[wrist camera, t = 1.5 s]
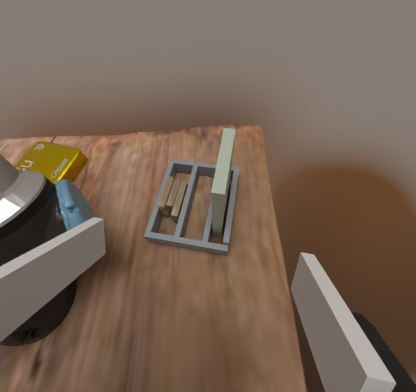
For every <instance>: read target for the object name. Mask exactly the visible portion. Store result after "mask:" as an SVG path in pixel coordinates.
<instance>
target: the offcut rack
mask: <svg viewBox="0 0 416 392" xmlns="http://www.w3.org/2000/svg"><path fill="white" fill-rule="evenodd" d="M215 170H216V164H208V163H200V162H192V161H184V160H176V159H170V162H169V165H168V168H167V171H166V173H165V176H164V179H163V182H162V185H161V188H160V191H159V194H158V196H157V199H156V202H155V205H154V208H153V211H152V214H151V217H150V219H149V222H148V225H147V228H146V231H145V234H144V237H145V238H146V239H147V240H148V241H149V242H155V243H160V244H166V245H171V246H177V247H182V248H188V249H193V250H199V251H204V252H210V253H215V254H221V255H226V256H227V252H228V245H229V239H230V232H231V224H232V217H233V210H234V202H235V195H236V188H237V181H238V173H239V166H234V167H231V175H230V179H232V185H231V192H230V198H229V205H228V212H227V218H226V225H225V231H224V238H223V245H222V244H217V243H211V242H209V241H210V236H211V230H212V205H211V200H210V205H209V210H208V214H207V219H206V224H205V229H204V234H203V239H202V241H200V240H194V239H188V238H183V237H184V233H185V229H186V225H187V221H188V217H189V213H190V209H191V205H192V201H193V197H194V193H195V189H196V185H197V181H198V177H199V175H203V176H210V177H214V175H215ZM176 172H181V173H188V174H191V176H190V179H189V183H188V187H187V190H186V194H185V198H184V201H183V205H182V209H181V212H180V216H179V219H178V223H177V227H176V230H175V234H174V236H171V235H165V234H160V233H157V232H158V229H159V225H160V222H161V219H162V216H163V214H162V213H161V211H160V209H159V208H158V203H159V200H160V197H161V194H162V191H163V188H164V185H165V182H166V179H167V177H168V176H171V177H174V178H175V175H176Z"/></svg>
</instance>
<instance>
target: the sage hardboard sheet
mask: <svg viewBox="0 0 416 392" xmlns="http://www.w3.org/2000/svg"><path fill="white" fill-rule="evenodd" d="M235 131H236V129H228V128H224V131H223V136H222V141H221V146H220V151H219V156H218V161H217V165H216V170H215V175H214V180H213V185H212V190H211V205H212V227H213V235H217V236H221V235H222V229H223V223H224V216H225V210H226V204H227V197H228V191H229V183H230V175H231V166H232V157H233V148H234V140H235Z"/></svg>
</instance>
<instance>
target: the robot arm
mask: <svg viewBox="0 0 416 392" xmlns="http://www.w3.org/2000/svg"><path fill="white" fill-rule="evenodd" d="M104 254H106V250H105V232H104V219H101V218H96V216H95V214H94V213H93V211H92V209H91V207H90V206H89V204H88V202H87V201H86V199H85V198H84V196H83V195H82V194H81V192H80V191H79V190H78V188H77V187H76V186H75V185H74V184H73V183H71V182H70V181H69V180H67V179H63V180H57V181H56V183H55V184H54V183H52V182H51V181H50V180H49V179H47V178H46V177H45V176H44V175H43V174H42V173H41V172H38V171H26V170H19V169H17V168H16V167H15V166H13V165H12V164H11V163H10V162H9V161H7V160H6V159H5V158H4V157H3V156H2V155H0V344H1V345H5V346H19V345H24V344H28V343H32V342H35V341H38V340H40V339H42V338H43V337H45V336H47V335H48V334H49V333H51V332H52V331H53V330H54V329H55V328H56V327H57V326H58V325H59V324H60V323H61V322H62V320H63V319H64V318H65V316H66V315H67V313H68V311H69V310H70V308H71V305H72V303H73V300H74V296H75V291H76V281H75V279H76V278H77V277H78V276H80V275H81V274H82V273H83V272H84V271H86V270H87V269H88V268H89V267H90V266H91V265H93V264H94V263H95V262H96V261H97V260H99V259H100V258H101V257H102V256H103V255H104ZM291 291H292V294H293V297H294V300H295V303H296V306H297V309H298V312H299V315H300V318H301V321H302V324H303V327H304V330H305V333H306V336H307V339H308V342H309V345H310V348H311V350H312V353H313V357H314V359H315V363H316V365H317V369H318V371H319V374H320V377H321V380H322V383H323V386H324V389H325V392H416V385H415V383H414V382H413V380H412V379H411V378H410V376H409V375H408V373H407V372H406V371H405V369H404V368H403V366H402V365H401V364H400V362H399V361H398V359H397V358H396V357H395V355H394V354H393V352H392V351H390V348H389V347H388V345H387V344H386V343H385V341H384V340H382V337H381V336H380V334H379V333H378V332H377V330H376V329H375V327H374V326H373V325H372V324H371V323H370V322H369V321H368V320H367V319H366V318H364V317H363V316H362V315H361V314H358V313H353V312H350V310H349V309H348V307H347V306H346V304H345V302H344V301H343V299H342V298H341V296H340V295H339V293H338V291H337V290H336V288H335V287H334V285H333V284H332V282H331V281H330V279H329V278H328V276H327V274H326V273H325V271H324V270H323V268H322V266H321V265H320V263H319V262H318V260H317V259H316V257H315V256H314V255H313V254H307V253H301V254H300V257H299V261H298V265H297V268H296V272H295V275H294V279H293V283H292V286H291Z"/></svg>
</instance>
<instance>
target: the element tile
mask: <svg viewBox="0 0 416 392" xmlns="http://www.w3.org/2000/svg"><path fill="white" fill-rule="evenodd" d="M86 163H87V158H86V157H85V155H84V154H83V153H82V152H81V151H80V150H79V149H78V148H74V147H69V146H65V145H60V144H55V143H50V142H45V141H41V142H37V143H36V144H34V145H33V146H32V147H31V149H30V150H29V151H28V152H27V153H26V154H25V155H24V156H23V157H22V159H21V160H20V161H19V162H18V163H17V164H16V165H15V167H16V168H17V169H19V170H26V171H38V172H41V173H42V174H43V175H44V176H45V177H46V178H47V179H49V180H50V181H51V182H52V183H54V184H55V183H56V181H57V180H63V179H67V180H69V181H70V182H71V183H73V182H74V180H75V179H76V178H77V176H78V175H79V173H80V172H81V170H82V169H83V167H84V166H85V165H86Z"/></svg>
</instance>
